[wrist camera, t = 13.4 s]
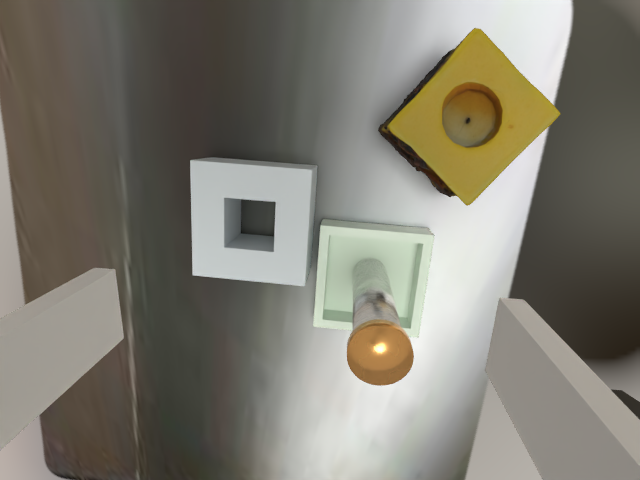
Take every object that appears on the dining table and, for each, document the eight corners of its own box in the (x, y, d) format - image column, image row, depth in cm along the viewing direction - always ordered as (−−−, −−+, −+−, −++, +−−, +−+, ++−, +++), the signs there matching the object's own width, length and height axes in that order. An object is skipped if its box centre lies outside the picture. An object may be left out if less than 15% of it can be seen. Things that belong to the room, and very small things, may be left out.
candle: (441, 194, 42) (468, 211, 32) (374, 131, 40) (381, 129, 31) (514, 122, 39) (567, 116, 29) (445, 52, 38) (477, 23, 28)
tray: (322, 218, 43) (320, 225, 40) (428, 228, 42) (434, 235, 39) (315, 313, 46) (313, 326, 43) (413, 323, 46) (418, 337, 43)
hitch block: (212, 157, 42) (190, 160, 37) (317, 165, 42) (312, 169, 36) (212, 257, 46) (192, 275, 40) (310, 267, 45) (304, 286, 39)
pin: (351, 253, 43) (350, 323, 27) (393, 256, 43) (417, 330, 27) (347, 291, 45) (344, 381, 28) (388, 295, 44) (408, 389, 28)
